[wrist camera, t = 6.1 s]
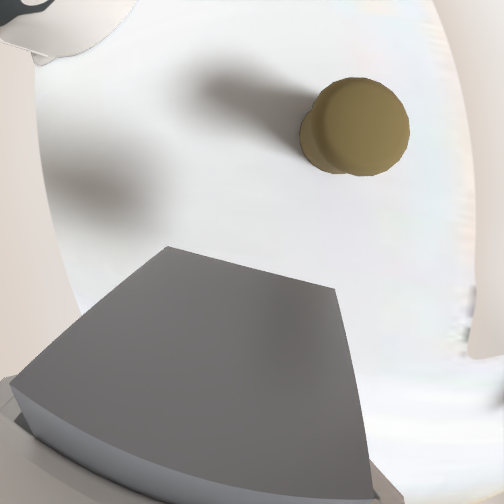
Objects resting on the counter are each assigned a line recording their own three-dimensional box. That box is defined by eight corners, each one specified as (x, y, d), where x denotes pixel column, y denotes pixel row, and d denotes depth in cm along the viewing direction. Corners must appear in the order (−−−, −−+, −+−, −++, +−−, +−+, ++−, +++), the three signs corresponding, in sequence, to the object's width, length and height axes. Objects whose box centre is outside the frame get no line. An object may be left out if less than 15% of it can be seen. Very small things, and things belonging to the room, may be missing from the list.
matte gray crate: (167, 246, 12) (9, 383, 4) (334, 288, 12) (374, 498, 3) (157, 369, 14) (79, 502, 6) (287, 404, 14) (270, 561, 6)
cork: (296, 169, 23) (297, 179, 13) (301, 98, 22) (304, 53, 11) (369, 178, 23) (421, 196, 12) (374, 107, 21) (427, 76, 11)
